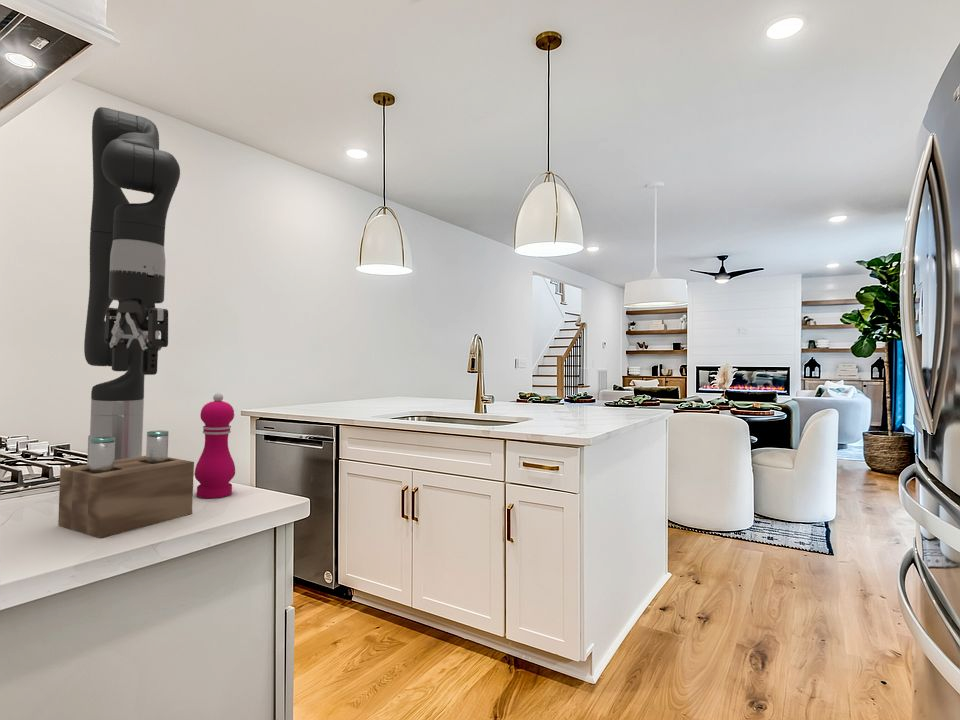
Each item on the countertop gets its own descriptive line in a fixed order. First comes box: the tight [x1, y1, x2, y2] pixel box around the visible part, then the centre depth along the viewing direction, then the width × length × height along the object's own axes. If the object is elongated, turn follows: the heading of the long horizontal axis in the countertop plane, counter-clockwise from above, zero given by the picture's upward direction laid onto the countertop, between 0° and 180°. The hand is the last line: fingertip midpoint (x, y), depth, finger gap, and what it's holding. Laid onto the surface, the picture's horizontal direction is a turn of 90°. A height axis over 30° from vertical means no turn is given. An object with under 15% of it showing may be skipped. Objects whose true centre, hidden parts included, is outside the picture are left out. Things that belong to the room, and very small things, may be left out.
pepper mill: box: [194, 392, 236, 499], centre depth 107 cm, size 7×7×20 cm
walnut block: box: [57, 455, 195, 539], centre depth 90 cm, size 11×15×9 cm
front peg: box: [89, 437, 115, 474], centre depth 85 cm, size 3×3×8 cm
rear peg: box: [145, 430, 169, 464], centre depth 94 cm, size 3×3×8 cm
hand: (133, 372), depth 87 cm, fingers open, 8 cm apart
